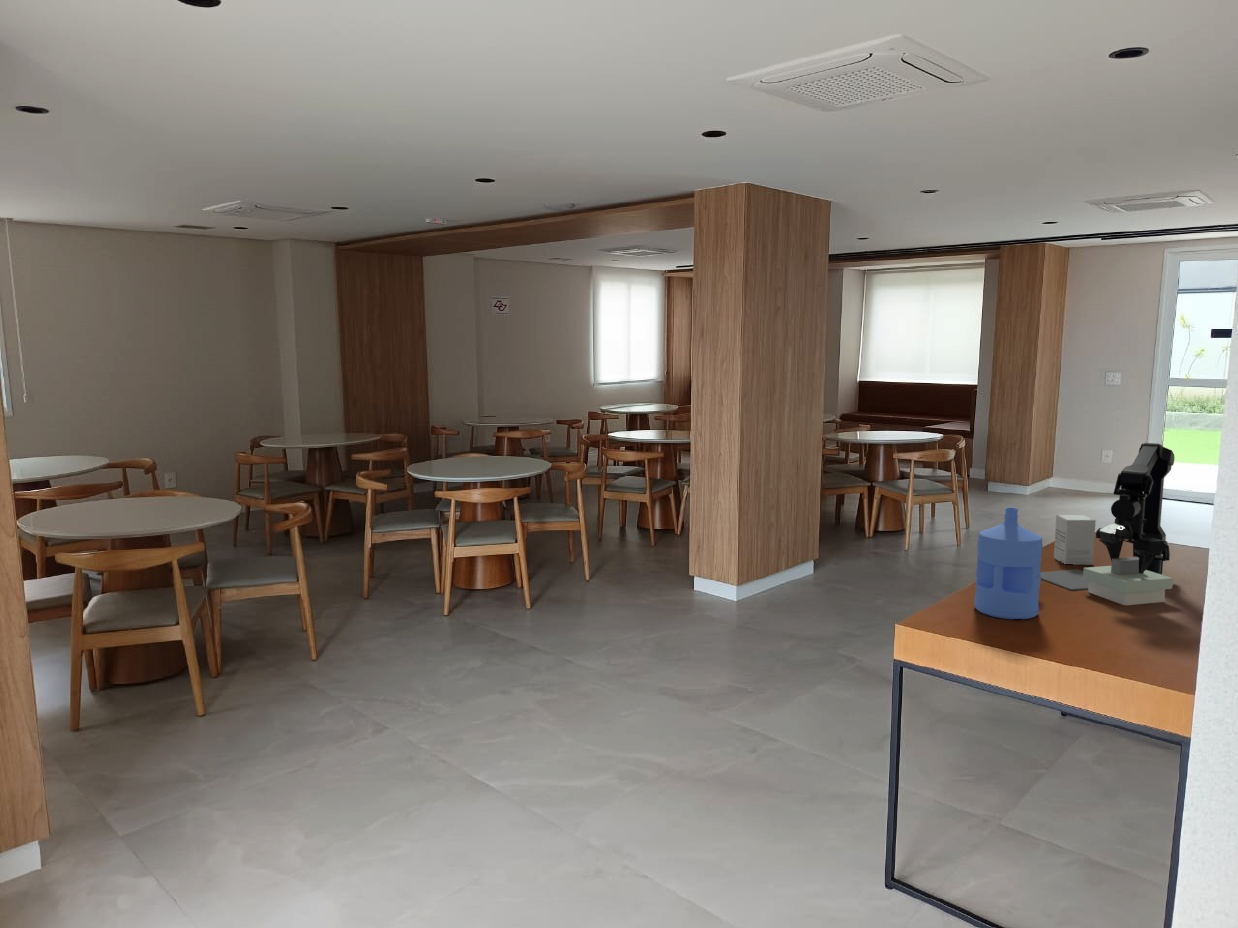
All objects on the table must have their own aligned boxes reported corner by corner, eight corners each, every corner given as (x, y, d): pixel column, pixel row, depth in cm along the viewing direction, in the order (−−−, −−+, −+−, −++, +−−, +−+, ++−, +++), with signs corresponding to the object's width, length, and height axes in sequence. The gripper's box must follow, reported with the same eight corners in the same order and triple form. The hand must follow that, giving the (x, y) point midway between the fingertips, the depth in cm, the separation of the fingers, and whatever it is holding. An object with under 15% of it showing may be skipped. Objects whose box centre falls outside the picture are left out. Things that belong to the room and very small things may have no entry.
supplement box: (1081, 558, 278) (1084, 514, 276) (1093, 565, 269) (1096, 519, 267) (1052, 557, 279) (1055, 514, 277) (1064, 564, 270) (1067, 519, 268)
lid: (1127, 574, 243) (1129, 551, 242) (1172, 588, 229) (1174, 563, 228) (1082, 577, 240) (1084, 554, 239) (1125, 592, 225) (1127, 567, 224)
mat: (1077, 570, 263) (1077, 569, 263) (1123, 586, 245) (1123, 584, 245) (1028, 574, 259) (1028, 573, 259) (1071, 590, 241) (1071, 589, 241)
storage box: (1126, 588, 243) (1127, 568, 242) (1164, 601, 230) (1165, 580, 229) (1088, 592, 240) (1089, 571, 239) (1124, 605, 227) (1126, 584, 226)
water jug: (987, 599, 234) (993, 501, 230) (1047, 611, 223) (1053, 508, 219) (964, 611, 223) (969, 509, 219) (1025, 624, 212) (1032, 517, 208)
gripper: (1081, 510, 239) (1078, 562, 241) (1134, 523, 221) (1130, 580, 223) (1114, 508, 241) (1110, 560, 243) (1169, 520, 223) (1165, 577, 225)
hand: (1127, 569), depth 234 cm, fingers open, 9 cm apart
